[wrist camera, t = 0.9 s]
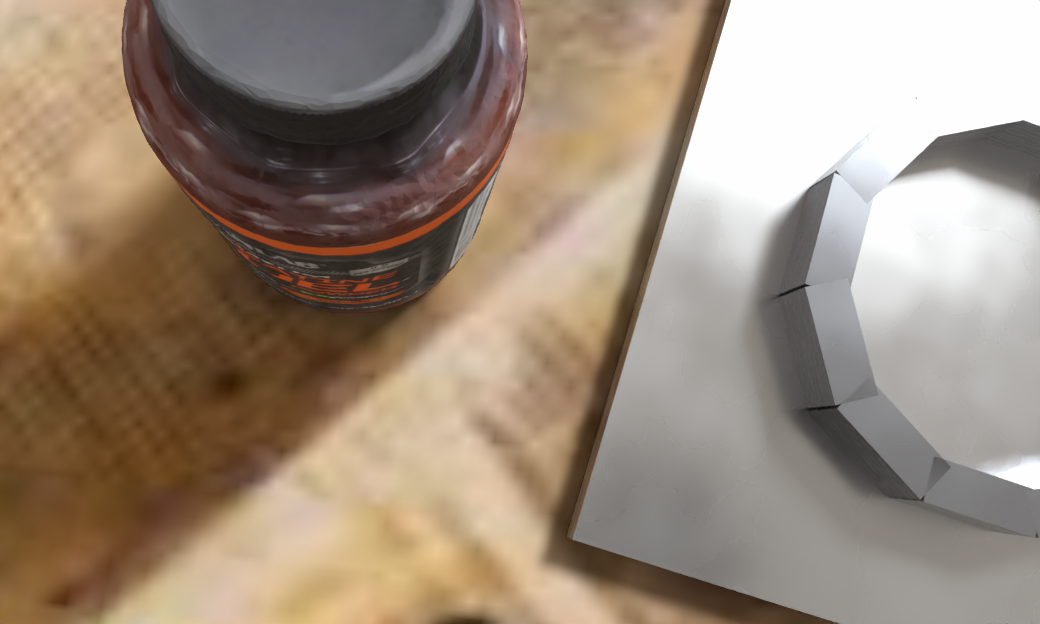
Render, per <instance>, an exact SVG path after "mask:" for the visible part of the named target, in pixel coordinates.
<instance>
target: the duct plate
mask: <svg viewBox="0 0 1040 624" xmlns="http://www.w3.org/2000/svg"><path fill="white" fill-rule="evenodd" d="M567 537H568V538H570V539H572V540H575V541H578V542H581V543H584V544H587V545H591V546H594V547H597V548H600V549H603V550H607V551H610V552H613V553H616V554H619V555H623V556H626V557H629V558H632V559H635V560H638V561H642V562H645V563H648V564H651V565H654V566H658V567H661V568H664V569H667V570H670V571H674V572H677V573H680V574H683V575H686V576H689V577H693V578H696V579H699V580H702V581H705V582H709V583H712V584H715V585H718V586H721V587H724V588H728V589H731V590H734V591H737V592H740V593H744V594H747V595H750V596H753V597H756V598H760V599H763V600H766V601H769V602H772V603H775V604H779V605H782V606H785V607H788V608H791V609H795V610H798V611H801V612H804V613H807V614H811V615H814V616H817V617H820V618H823V619H826V620H830V621H833V622H836V623H839V624H1040V2H1039V1H1036V0H725V3H724V6H723V10H722V13H721V16H720V20H719V23H718V27H717V30H716V33H715V37H714V40H713V43H712V47H711V50H710V54H709V57H708V60H707V64H706V67H705V70H704V74H703V77H702V81H701V84H700V87H699V91H698V94H697V97H696V101H695V104H694V108H693V111H692V114H691V118H690V121H689V124H688V128H687V131H686V135H685V138H684V141H683V145H682V148H681V151H680V155H679V158H678V162H677V165H676V168H675V172H674V175H673V178H672V182H671V185H670V189H669V192H668V195H667V199H666V202H665V205H664V209H663V212H662V216H661V219H660V222H659V226H658V229H657V232H656V236H655V239H654V243H653V246H652V249H651V253H650V256H649V259H648V263H647V266H646V270H645V273H644V276H643V280H642V283H641V286H640V290H639V293H638V297H637V300H636V303H635V307H634V310H633V313H632V317H631V320H630V324H629V327H628V330H627V334H626V337H625V340H624V344H623V347H622V351H621V354H620V357H619V361H618V364H617V367H616V371H615V374H614V378H613V381H612V384H611V388H610V391H609V394H608V398H607V401H606V405H605V408H604V411H603V415H602V418H601V421H600V425H599V428H598V432H597V435H596V438H595V442H594V445H593V448H592V452H591V455H590V459H589V462H588V465H587V469H586V472H585V475H584V479H583V482H582V486H581V489H580V492H579V496H578V499H577V502H576V506H575V509H574V513H573V516H572V519H571V523H570V526H569V529H568V533H567Z"/></svg>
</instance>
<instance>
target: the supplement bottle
mask: <svg viewBox="0 0 1040 624" xmlns="http://www.w3.org/2000/svg"><path fill="white" fill-rule="evenodd" d="M526 38H527V35H526V30H525V23H524V18H523V13H522V9H521V5H520V2H519V0H127V2H126V6H125V9H124V19H123V27H122V56H123V67H124V75H125V81H126V86H127V89H128V92H129V95H130V99H131V102H132V105H133V109H134V112H135V115H136V118H137V120H138V122H139V124H140V127H141V129H142V132H143V134H144V136H145V138H146V140H147V142H148V143H149V145H150V146H151V148H152V150H153V151H154V153H155V154H156V156H157V157H158V159H159V160H160V161H161V163H162V164H163V165H164V167H165V168H166V169H167V170H168V172H169V173H170V174H171V176H172V177H173V178H174V180H175V181H176V182H177V183H178V185H179V186H180V187H181V189H182V190H183V191H184V193H185V194H186V195H187V196H188V197H189V198H190V200H191V201H192V202H193V203H194V204H195V205H196V206H197V207H198V209H199V210H200V211H201V212H202V213H203V215H204V216H205V217H206V218H207V219H208V220H209V221H210V222H211V223H212V224H213V226H214V227H215V228H216V229H217V230H218V231H219V233H220V234H221V236H222V237H223V238H224V239H225V241H226V242H227V243H228V244H229V245H230V247H231V248H232V249H233V251H234V253H235V254H236V255H237V256H238V257H239V258H240V259H241V260H242V261H243V262H244V263H245V264H246V265H247V266H248V267H249V268H250V269H251V271H252V272H253V273H254V274H255V275H256V276H257V277H258V278H260V279H262V280H263V281H265V283H266V284H267V285H269V286H271V287H273V288H274V289H276V290H277V291H278V292H280V293H282V294H283V295H285V296H287V297H289V298H291V299H293V300H295V301H297V302H299V303H301V304H304V305H307V306H311V307H313V308H316V309H320V310H324V311H329V312H335V313H367V312H374V311H380V310H384V309H388V308H392V307H396V306H398V305H401V304H403V303H405V302H408V301H410V300H412V299H414V298H416V297H418V296H420V295H422V294H424V293H426V292H427V291H428V290H429V289H431V288H432V287H433V286H435V285H436V284H437V283H439V282H440V281H441V280H442V278H443V277H444V276H445V275H446V274H447V273H448V272H449V271H451V270H452V269H453V268H454V266H455V265H456V264H457V262H458V260H459V259H460V258H461V257H462V256H463V254H464V252H465V250H466V248H467V247H468V245H469V243H470V242H471V240H472V238H473V236H474V234H475V232H476V230H477V227H478V225H479V223H480V220H481V216H482V214H483V211H484V208H485V206H486V203H487V201H488V198H489V195H490V193H491V190H492V188H493V185H494V182H495V179H496V177H497V174H498V171H499V169H500V166H501V163H502V161H503V158H504V156H505V153H506V150H507V148H508V146H509V143H510V140H511V138H512V133H513V130H514V127H515V124H516V121H517V118H518V115H519V113H520V110H521V106H522V101H523V97H524V89H525V82H526V75H527V60H528V54H527V45H526Z"/></svg>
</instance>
